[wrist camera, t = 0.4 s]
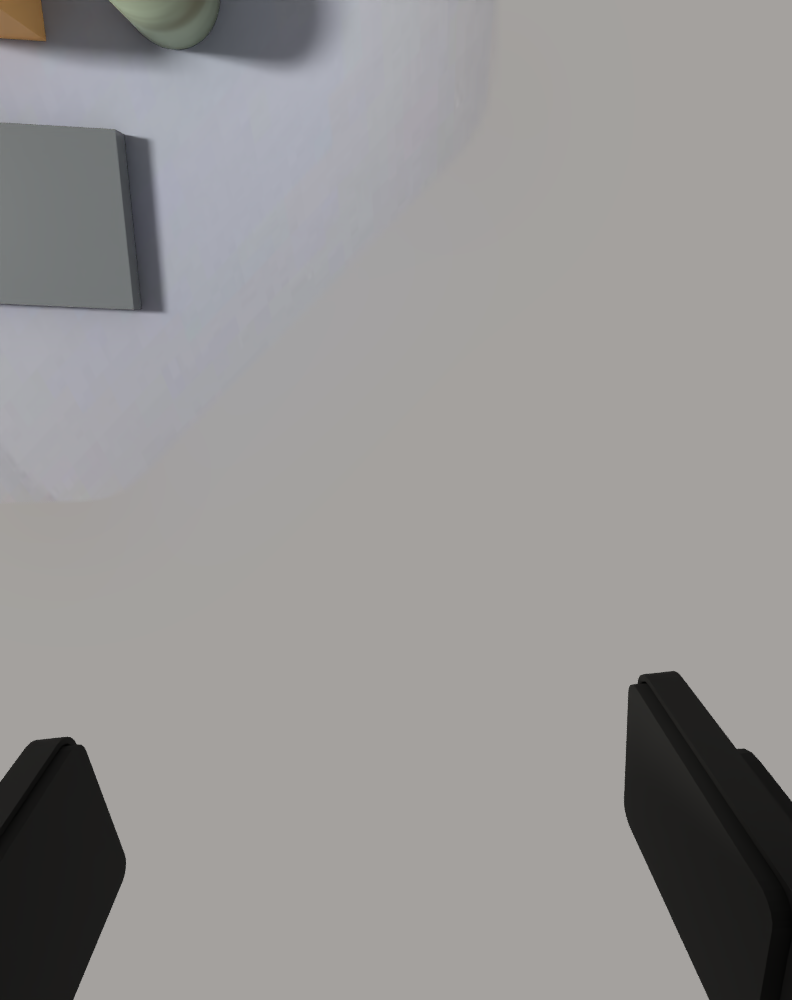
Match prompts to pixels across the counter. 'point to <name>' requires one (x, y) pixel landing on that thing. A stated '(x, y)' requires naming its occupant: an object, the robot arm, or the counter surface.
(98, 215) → the slate board
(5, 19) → the orange block
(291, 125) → the counter surface
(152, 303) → the counter surface
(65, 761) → the robot arm
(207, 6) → the sage cylinder
